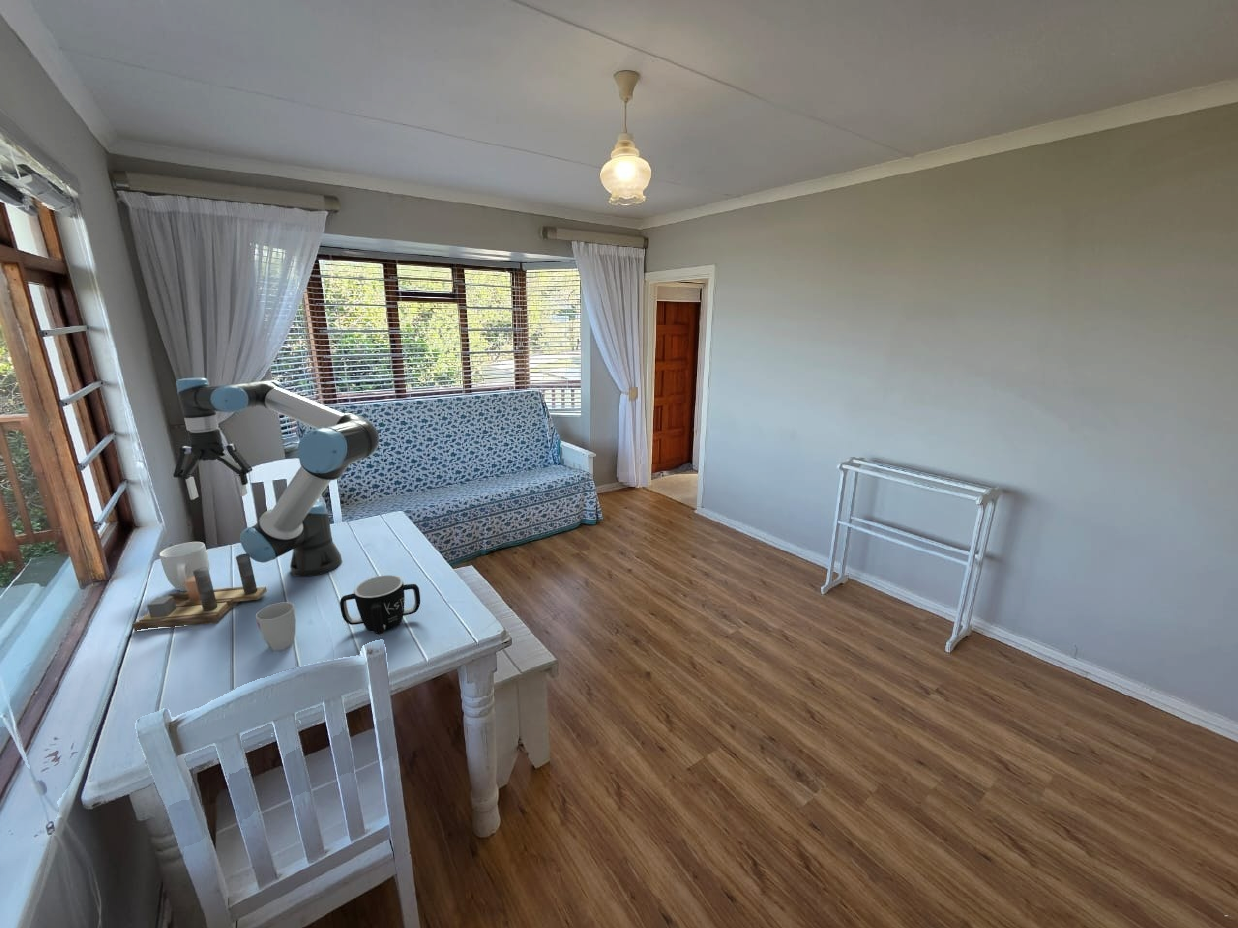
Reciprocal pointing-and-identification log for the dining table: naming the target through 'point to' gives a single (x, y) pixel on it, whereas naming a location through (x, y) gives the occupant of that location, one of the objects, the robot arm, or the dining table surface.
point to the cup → (277, 625)
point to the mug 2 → (380, 603)
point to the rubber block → (161, 606)
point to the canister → (192, 589)
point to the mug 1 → (183, 562)
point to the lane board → (187, 620)
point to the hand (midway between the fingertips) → (219, 496)
